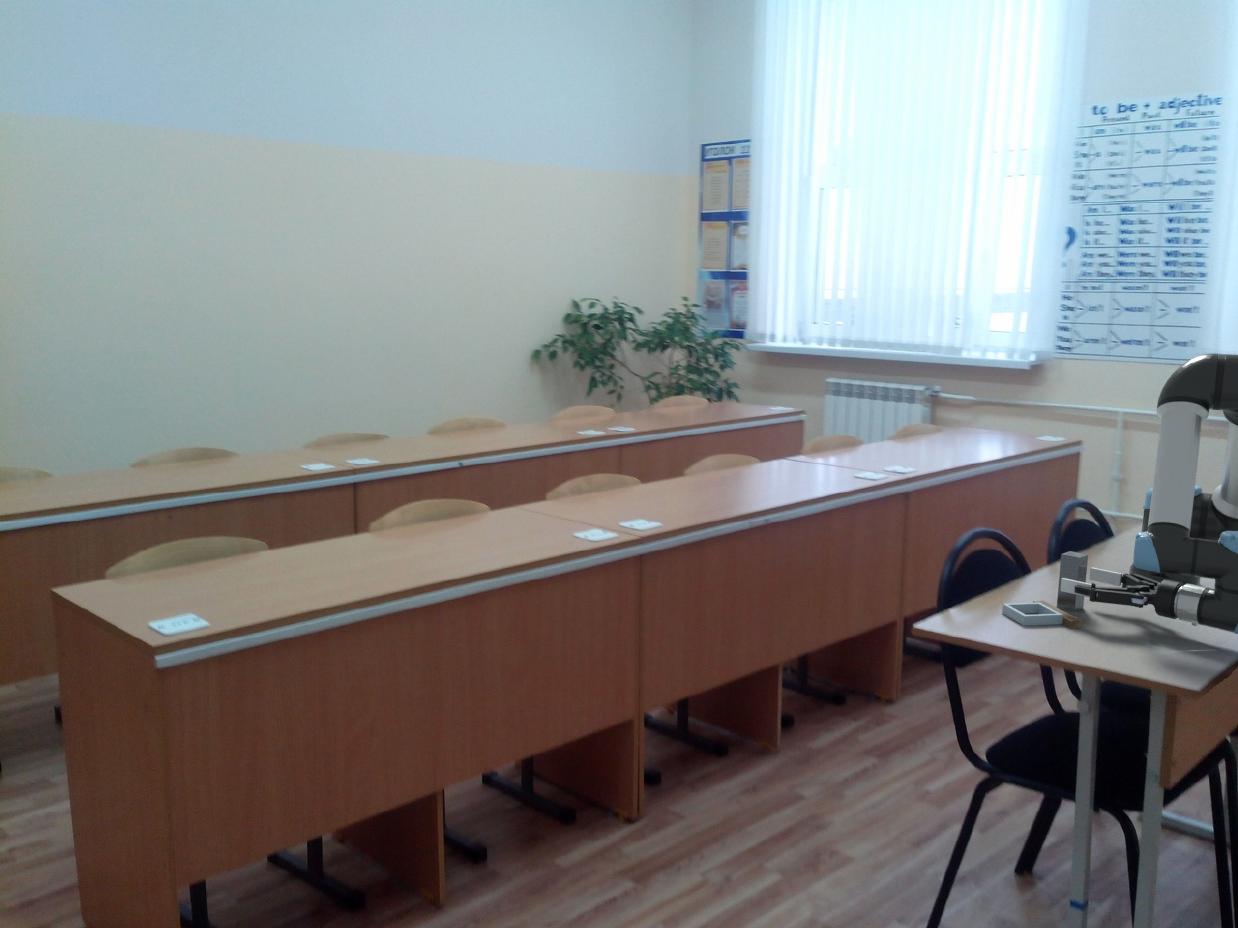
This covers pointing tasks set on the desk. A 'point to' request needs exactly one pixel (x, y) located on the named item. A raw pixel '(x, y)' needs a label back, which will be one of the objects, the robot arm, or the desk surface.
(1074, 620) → the sill strip
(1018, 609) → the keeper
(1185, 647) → the desk surface
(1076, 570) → the bar
